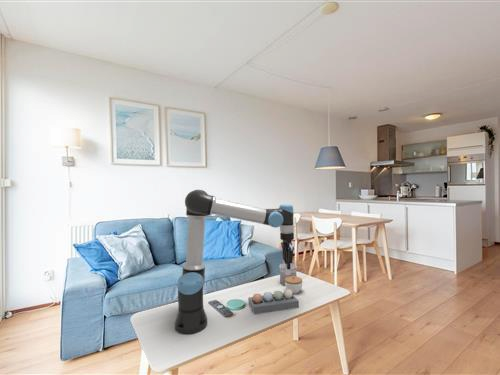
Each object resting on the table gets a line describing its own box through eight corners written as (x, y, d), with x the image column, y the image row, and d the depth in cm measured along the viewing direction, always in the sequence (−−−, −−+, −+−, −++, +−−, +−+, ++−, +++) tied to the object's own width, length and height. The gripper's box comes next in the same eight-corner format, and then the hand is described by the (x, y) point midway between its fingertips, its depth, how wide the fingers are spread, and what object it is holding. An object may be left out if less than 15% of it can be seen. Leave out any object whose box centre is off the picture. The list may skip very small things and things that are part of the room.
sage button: (275, 301, 138) (275, 294, 138) (273, 297, 142) (273, 291, 142) (283, 299, 139) (283, 293, 139) (280, 296, 143) (280, 290, 143)
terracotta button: (254, 304, 135) (254, 297, 135) (252, 300, 139) (252, 294, 139) (262, 303, 136) (262, 296, 136) (260, 299, 140) (259, 293, 140)
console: (254, 314, 131) (254, 307, 131) (248, 303, 142) (248, 297, 142) (298, 307, 137) (298, 300, 137) (289, 297, 148) (289, 291, 148)
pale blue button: (265, 302, 136) (265, 296, 136) (262, 299, 140) (262, 292, 140) (273, 301, 137) (272, 295, 137) (270, 297, 141) (270, 291, 141)
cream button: (286, 299, 139) (286, 293, 139) (283, 296, 143) (283, 289, 143) (293, 298, 140) (293, 292, 140) (290, 295, 144) (290, 289, 144)
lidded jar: (301, 288, 161) (301, 273, 161) (303, 295, 151) (303, 280, 151) (284, 287, 162) (284, 273, 162) (285, 295, 152) (285, 279, 152)
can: (300, 283, 169) (300, 265, 169) (289, 288, 162) (289, 269, 161) (287, 278, 178) (286, 261, 178) (276, 283, 170) (275, 265, 170)
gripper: (298, 233, 136) (299, 277, 136) (288, 229, 148) (289, 269, 149) (285, 235, 134) (286, 279, 134) (276, 230, 147) (277, 271, 147)
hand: (288, 274), depth 142 cm, fingers closed
